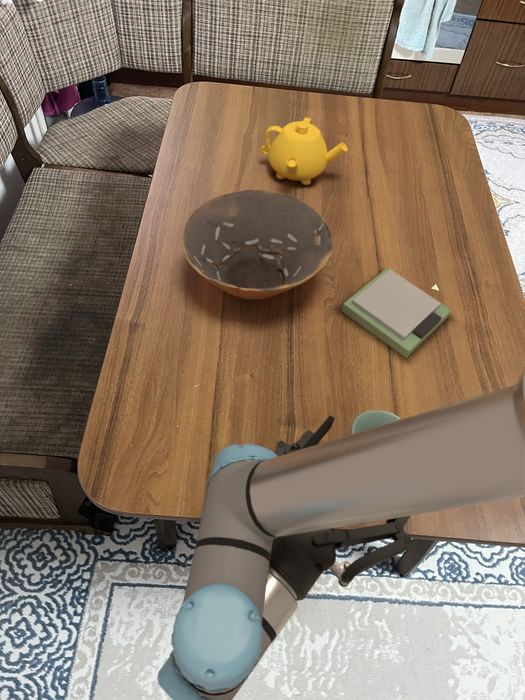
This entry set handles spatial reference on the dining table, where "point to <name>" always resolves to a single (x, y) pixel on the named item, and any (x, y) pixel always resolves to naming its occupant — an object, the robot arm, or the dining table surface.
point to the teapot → (299, 151)
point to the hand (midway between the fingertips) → (372, 450)
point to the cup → (371, 420)
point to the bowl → (256, 242)
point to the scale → (396, 311)
